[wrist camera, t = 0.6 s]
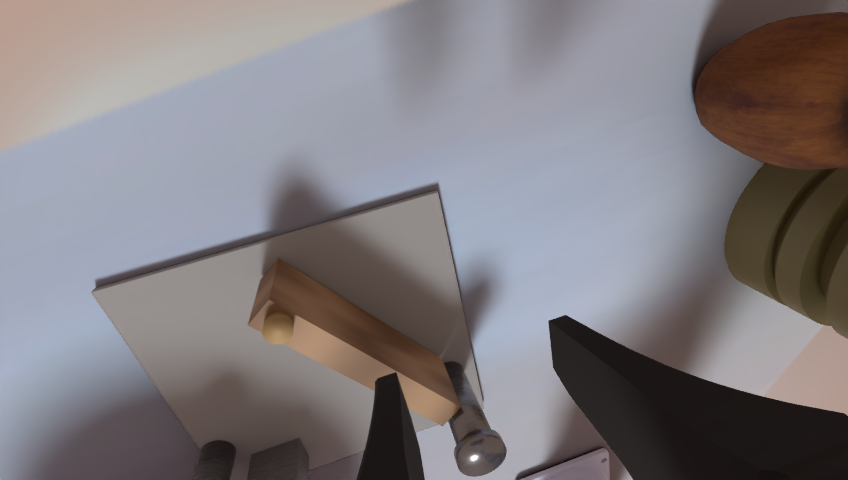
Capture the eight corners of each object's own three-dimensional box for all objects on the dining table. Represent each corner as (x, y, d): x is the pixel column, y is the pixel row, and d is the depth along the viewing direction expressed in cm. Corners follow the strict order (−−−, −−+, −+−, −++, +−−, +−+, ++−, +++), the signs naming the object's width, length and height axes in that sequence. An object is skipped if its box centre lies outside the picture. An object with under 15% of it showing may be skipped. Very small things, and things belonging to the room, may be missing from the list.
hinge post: (469, 377, 27) (509, 465, 21) (431, 390, 27) (462, 482, 21) (462, 348, 26) (502, 432, 20) (423, 361, 26) (453, 449, 20)
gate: (441, 358, 25) (464, 416, 21) (425, 375, 26) (445, 435, 21) (278, 258, 20) (267, 307, 16) (260, 279, 21) (245, 334, 17)
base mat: (482, 403, 29) (484, 408, 28) (233, 491, 27) (232, 497, 26) (436, 190, 22) (437, 192, 21) (95, 288, 20) (91, 292, 19)
